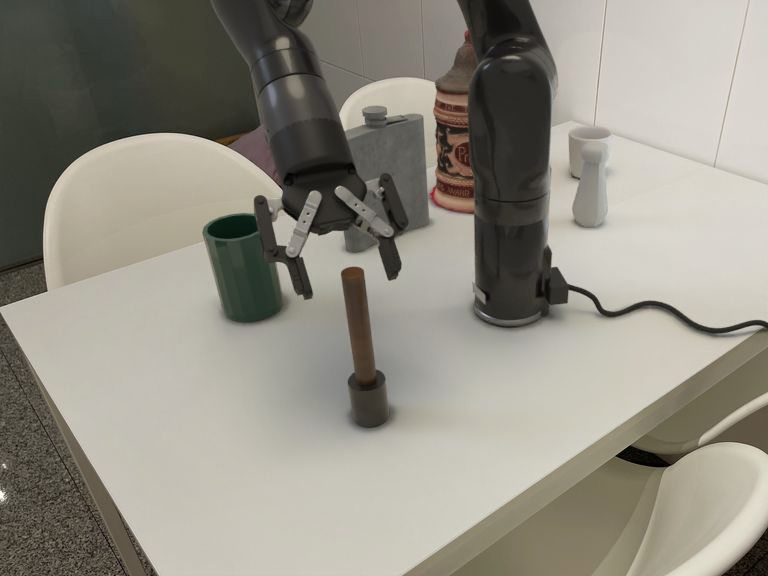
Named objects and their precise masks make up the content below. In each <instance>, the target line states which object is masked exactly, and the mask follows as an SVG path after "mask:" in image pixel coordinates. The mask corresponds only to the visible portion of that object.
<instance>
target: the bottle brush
mask: <svg viewBox="0 0 768 576" xmlns="http://www.w3.org/2000/svg"><path fill="white" fill-rule="evenodd" d="M365 275H366V274H365V270H364V269H363V268H362V267H360V266H347V267H345V268H343V269H342V270H341V271H340V277H341V285H342V292H343V298H344V299H343V300H344V306H345V313H346V321H347V327H348V328H347V329H348V335H349V342H350V348H351V355H352V356H351V357H352V363H353V370H354V372H352V373H351V374H350V375H349V376H348V378H347V381H346V382H347V383H346V384H347V389H348V396H349V401H350V402H349V403H350V408H351V416H352V420H353V422H354V423H355V424H356V425H357V426H360V427H362V428H375V427H379V426H381V425H383V424H384V423H386V422H387V421H388V419H389V418H390V407H389V397H388V388H387V381H386V375H385V374H384V373H383V371H381V370H379V369H377V367H376V359H375V352H374V343H373V334H372V327H371V317H370V311H369V302H368V292H367V284H366V277H365Z"/></svg>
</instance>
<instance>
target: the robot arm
mask: <svg viewBox="0 0 768 576" xmlns="http://www.w3.org/2000/svg"><path fill="white" fill-rule="evenodd" d="M209 1H210V5H211V7H212V9H213V11H214V13H215V15H216V16H217V19H218V20H219V22H220V24H221V25H222V27H223V28H224V30H225V32H226V34H227V35H228V37H229V38H230V40H231V41H232V43H233V45H234V46H235V48H236V50H237V51H238V53H239V55H240V56H241V57H242V59H243V60H244V62H245V63H246V65H247V67H248V70H249V73H250V77H251V81H252V85H253V88H254V91H255V94H256V99H257V101H258V103H259V109H260V117H261V122H262V128H263V131H264V137H265V141H266V143H267V144H268V146H269V150H270V153H271V156H272V157H271V158H272V160H273V164H274V167H275V170H276V173H277V177H278V180H279V184H280V186H281V190H282V195H281V196H280V197H279V196H278V197H271V198H267V197H266V196H265V195H262V194H259V195H255V197H254V198H253V214H255V218H256V223H257V227H258V232H259V236H260V241H261V245H262V250H263V254H264V258H265V260H266V261H267V262H268V263H273V262H276V263H280V264H284V265H285V266H286V268H287V270H288V274H289V277H290V281H291V284H292V287H293V288H292V289H293V291H294V292H295V294H296V295H297V296H298V297H300V296H302V297H303V300H304V301H307V300H312V299H313V297H314V291H313V288H312V283H311V280H310V277H309V274H308V270H307V267H306V264H305V260H304V257H303V256H301V253H302V251H303V249H304V247H305V245H306V243H307V240H308V238H309V236H310V235H311V233H312V234H313V235H317V236H318V237H320V236H326V235H328V234H330V233H333V232H344V231H345V230H349V228H350V227H351V226H354V227H355V228H357V229H358V230H359V231H361V232H362V233H364V234H367V235H369V236H370V237H371V238H373V239H374V240H375V241H377V242H378V243H377V244H379V245H378V247H377V250H378V252H379V256H380V259H381V262H382V266H383V269H384V273H385V275H386V279H387V281H389V282H390V281H394V280H397V278H398V277H399V274H400V272H401V270H402V266H403V263H402V259H401V256H400V254H399V253H400V252H399V250H398V247H397V243H396V238H398V237H401V236H403V235H404V234H405V232H404V231H405V229H406V228H407V226H408V224H409V221H408V218H407V215H406V213H405V210H404V208H403V205H402V202H401V200H400V197H399V195H398V192H397V189H396V187H395V184H394V182H393V179H392V177H391V175H390V174H388V173H383V174H382V175H381V176H380V178H378V179H374V180H370V181H366V182H364V181H363V180H362V179H361V178H360V177H359V175H358V173H357V171H356V167H355V164H354V161H353V157H352V154H351V151H350V148H349V145H348V141H347V138H346V135H345V132H344V131H345V129H344V126H343V122H342V119H341V116H340V113H339V110H338V106H337V103H336V102H335V98H334V97H333V95H332V93H331V91H330V89H329V86H328V83H327V80H326V76H325V74H324V69H323V67H322V64H321V60H320V57H319V54H318V51H317V49H316V45H315V44H314V42H313V40H312V39H311V38H310V37H309V35H307V34H306V33H305V32H303V31H302V30H300V27H301V26H302V25H303V24H304V23H305V22H306V20H307V19H308V17H310V14H311V12H312V9H313V6H314V2H315V0H209ZM456 2H457V4H458V7H459V9H460V11H461V14H462V17H463V19H464V22H465V25H466V28H467V30H468V32H469V35H470V38H471V42H472V45H473V49H474V53H475V57H476V61H477V66H478V67H477V68H476V70H475V72H474V73H473V75H472V78H471V81H470V84H469V90H468V136H469V159H470V167H471V170H472V173H473V178H474V213H473V223H474V224H473V225H474V227H473V230H474V233H473V234H474V240H473V241H474V282H472V289H471V290H472V293H473V294H474V312H475V313H476V315H477V316H478V317H479V318H480V319H481V320H483V321H484V322H487V323H489V324H491V325H496V326H501V327H519V326H525V325H529V324H531V323H534V322H535V321H537V320H538V319H540V318H541V317H547V316H549V311H550V306H557V305H565V304H568V303H569V292H570V291H571V292H574V293H577V294H581V295H583V296H585V297H587V298H588V299H590V301H592V303H593V304H594V306H595V308H596V310H597V311H598V313H600V314H601V315H602V316H606V317H608V318H616V317H620V316H623V315H626V314H628V313H632V312H633V311H635V310H637V309H640V308H643V307H657V308H661V309H665V310H666V311H668V312H670V313H672V314H673V315H675V316H676V317H677V318H679V319H680V320H681V321H682V322H683V323H685V324H686V325H688V326H690V327H691V328H693V329H695V330H698V331H700V332H704V333H708V334H713V335H714V334H717V335H719V334H720V335H722V334H729V333H733V332H736V331H739V330H743V329H746V328H749V327H755V326H756V327H757V326H759V327H763V328H765V329H767V330H768V321H765V320H762V319H751V320H746V321H743V322H740V323H738V324H733V325H730V326H726V327H724V326H723V327H709V326H707V325H702V324H700V323H698V322H697V321H696V322H695V321H693V320H692V318H689V317H688V316H686V314H684V313H683V312H681V310H679V309H677V308H676V307H674V306H672V305H670V304H668V303H665V302H662V301H658V300H650V299H649V300H642V301H639V302H636V303H633V304H631V305H629V306H628V307H626V308H623V309H621V310H617V311H616V310H615V311H610V310H607V309H605V308H603V306H602V304H601V302H600V300H599V299H598V297H597V296H596V295H595V294H594V293H592V292H591V291H589V290H587V289H586V288H584V287H583V288H582V287H580V286H577V285H573V284H569V283H568V282H567V281H566V279H565V277H564V275H563V274H562V272H561V270H560V269H559V266H552V264H553V263H552V261H553V251H552V249H551V247H550V245H549V244H548V240H549V224H550V223H549V222H550V204H551V203H550V202H551V201H550V200H551V187H552V166H551V146H552V145H551V144H552V143H551V142H552V122H553V109H554V102H555V99H556V96H557V93H558V87H559V73H558V68H557V65H556V61H555V59H554V56H553V54H552V52H551V50H550V47H549V45H548V43H547V40H546V38H545V36H544V33H543V31H542V29H541V26H540V24H539V22H538V19H537V17H536V14H535V11H534V9H533V7H532V4H531V2H530V0H456ZM366 194H371V195H372V196H373V197H374V199H375V200H377V201H381V202H382V205H383V208H384V210H385V213H386V216H387V218H388V221H389V223H390V224H389V225H388V224H387V223H385V222H384V221H383V220H382V219H380V218H379V217H378V216H377V214H376V213H375V212H374V211H373V210H372V209H371V208H369V207H368V206H367V205H365V204H364V203H363V201H364V199H365V196H366ZM282 210H283V212H284V213H285V214H286V215H288V216H289V217H291V218H292V219H293V220H294V221H296V224H295V225H294V229H293V231H292V234H291V237H290V239H289V241H288V243H287V245H280V244H277V238H276V233H275V230H274V225H273V223H275V222H276V221H277V220H278V215H279V212H280V211H282ZM359 222H360V223H359Z"/></svg>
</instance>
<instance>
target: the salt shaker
mask: <svg viewBox="0 0 768 576" xmlns="http://www.w3.org/2000/svg"><path fill="white" fill-rule="evenodd" d="M581 157H582V159H583V160H584V161H585V162H584V166H583V169H582V173H581V177H580V178H579V180H578V185H577V189H576V192H575V196H574V199H573V202H572V206H571V211H572V215H573V217H574V220H575V223H576V224H578V225H580V226H582V227H585V228H586V227H587V228H596V227H598V226H600V225H602V224H603V222H604V220H605V219H606V216H607V214H608V211H609V205H608V193H607V190H608V189H607V177H606V170H605V161H607V160H608V161H609V158H610V152H609V147H608V146H607V145H606V144H605V143H602V142H589V143H586V144H585V145H584V146H583V147H582V152H581Z"/></svg>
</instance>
